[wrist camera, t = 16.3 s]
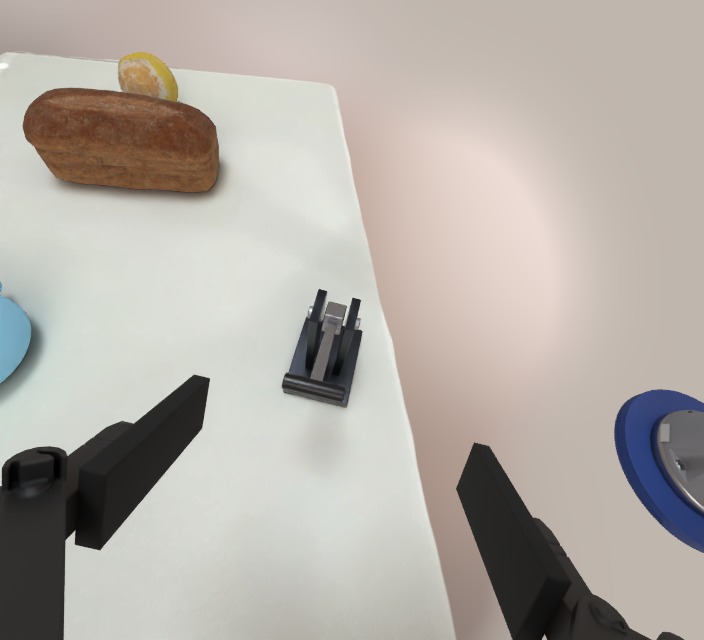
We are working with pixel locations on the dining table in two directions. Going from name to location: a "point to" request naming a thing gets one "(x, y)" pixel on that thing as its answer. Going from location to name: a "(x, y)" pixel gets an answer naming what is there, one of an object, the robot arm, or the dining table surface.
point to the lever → (321, 361)
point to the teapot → (12, 336)
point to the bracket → (340, 353)
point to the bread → (123, 140)
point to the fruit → (147, 77)
